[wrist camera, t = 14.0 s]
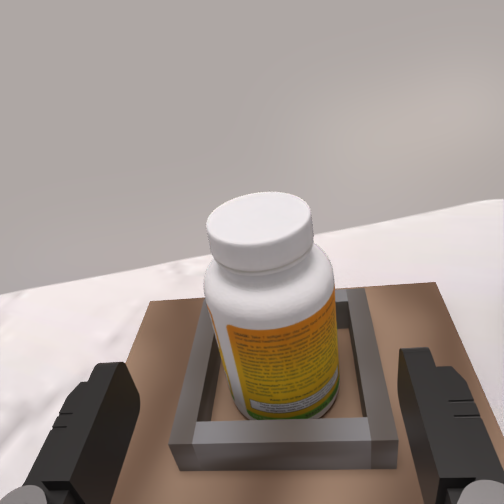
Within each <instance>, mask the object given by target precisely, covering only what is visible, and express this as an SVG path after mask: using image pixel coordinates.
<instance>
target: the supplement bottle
mask: <svg viewBox="0 0 504 504" xmlns="http://www.w3.org/2000/svg"><path fill="white" fill-rule="evenodd" d="M206 229H207V235H208V239H209V245H210V251H211V253H212V255H213V257H214V259H213V260H212V262H211V263H210V265H209V266H208V268H207V270H206V273H205V277H204V294H205V299H206V303H207V307H208V311H209V315H210V318H211V322H212V325H213V329H214V333H215V336H216V340H217V344H218V348H219V352H220V356H221V359H222V363H223V367H224V371H225V375H226V379H227V382H228V385H229V389H230V392H231V395H232V398H233V400H234V403H235V404H236V406H237V408H238V409H239V410H240V412H241V413H242V414H243V415H244V416H245V417H247V418H248V419H249V420H282V419H318V418H320V417H321V416H322V415H323V414H325V413H326V412H327V411H328V410H329V408H330V407H331V406H332V404H333V402H334V401H335V399H336V396H337V394H338V390H339V384H340V377H339V358H338V340H337V322H336V304H335V284H334V275H333V268H332V265H331V262H330V260H329V258H328V256H327V255H326V253H325V252H324V251H323V250H322V249H321V248H320V247H319V246H318V245H317V244H315V243H314V241H313V237H314V233H313V224H312V217H311V210H310V207H309V206H308V204H307V203H306V202H305V201H304V200H302V199H301V198H299V197H297V196H295V195H291V194H287V193H281V192H259V193H252V194H247V195H244V196H240V197H237V198H234V199H232V200H229V201H227V202H225V203H223V204H222V205H220V206H219V207H217V208H216V209H215V210H214V211H213V212H212V213H211V214H210V216H209V217H208V219H207V224H206Z"/></svg>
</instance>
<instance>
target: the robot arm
mask: <svg viewBox="0 0 504 504" xmlns="http://www.w3.org/2000/svg"><path fill="white" fill-rule="evenodd" d="M397 390H398V399H399V404H400V409H401V413H402V417H403V421H404V425H405V429H406V433H407V437H408V441H409V445H410V449H411V453H412V457H413V461H414V465H415V469H416V473H417V477H418V481H419V485H420V489H421V493H422V497H423V501H424V504H504V470H503V468H502V465H501V463H500V461H499V458H498V456H497V453H496V451H495V449H494V446H493V444H492V441H491V439H490V437H489V434H488V432H487V429H486V427H485V425H484V422H483V420H482V418H481V417H480V413H479V410H478V408H477V406H476V403H474V398H473V396H472V394H471V391H470V389H469V386H468V384H467V382H466V380H465V379H464V378H463V377H462V376H461V375H460V374H459V373H458V372H457V371H456V370H455V369H454V368H453V367H452V366H438V367H436V365H435V362H434V359H433V356H432V354H431V351H430V349H429V348H428V347H415V348H400V349H399V360H398V378H397ZM139 412H140V395H139V392H138V390H137V388H136V386H135V383H134V381H133V379H132V377H131V374H130V372H129V370H128V368H127V366H126V364H125V363H124V362H111V363H98V364H97V365H96V366H95V367H94V369H93V371H92V373H91V375H90V378H89V380H88V382H80V383H79V385H78V386H77V387H76V388H75V389H74V390H73V391H72V392H71V393H70V394H69V395H68V396H67V398H66V400H65V402H64V404H63V406H62V408H61V410H60V412H59V416H57V418H56V420H55V422H54V424H53V426H52V427H53V429H52V430H50V432H49V434H48V436H47V438H46V440H45V442H44V444H43V446H42V448H41V450H40V452H39V454H38V456H37V459H36V461H35V463H34V465H33V467H32V469H31V471H30V473H29V475H28V477H27V479H26V480H25V482H24V484H23V485H22V487H19V488H17V489H15V490H13V491H11V492H10V493H8V494H7V495H6V496H5V497H3V498H2V499H1V500H0V504H110V503H111V500H112V497H113V494H114V491H115V488H116V485H117V481H118V478H119V475H120V472H121V469H122V466H123V463H124V460H125V457H126V454H127V450H128V447H129V444H130V441H131V438H132V435H133V432H134V429H135V426H136V422H137V419H138V416H139Z"/></svg>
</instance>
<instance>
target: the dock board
mask: <svg viewBox="0 0 504 504" xmlns="http://www.w3.org/2000/svg"><path fill="white" fill-rule="evenodd" d="M335 304H336V322H337V340H338V358H339V377H340V384H339V390H338V394H337V396H336V399H335V401H334V402H333V404H332V406H331V407H330V408H329V410H328V411H327V412H326V413H325V414H323V415H322V416H321V417H320V418H318V419H282V420H249V419H248V418H247V417H245V416H244V415H243V414H242V413H241V412H240V410H239V409H238V408H237V406H236V404H235V403H234V400H233V398H232V395H231V392H230V389H229V385H228V382H227V379H226V375H225V371H224V367H223V363H222V359H221V356H220V352H219V348H218V344H217V340H216V336H215V333H214V329H213V325H212V322H211V318H210V315H209V311H208V307H207V303H206V299H205V298H192V299H177V300H163V301H150V303H149V306H148V308H147V311H146V313H145V316H144V318H143V321H142V323H141V326H140V328H139V331H138V333H137V336H136V338H135V341H134V343H133V346H132V348H131V351H130V353H129V356H128V358H127V361H126V363H125V364H126V366H127V368H128V370H129V372H130V374H131V377H132V379H133V381H134V383H135V386H136V388H137V390H138V392H139V395H140V412H139V416H138V419H137V422H136V426H135V429H134V432H133V435H132V438H131V441H130V444H129V447H128V450H127V454H126V457H125V460H124V463H123V466H122V469H121V472H120V475H119V478H118V481H117V485H116V488H115V491H114V494H113V497H112V500H111V503H110V504H424V501H423V497H422V493H421V489H420V485H419V481H418V477H417V473H416V469H415V465H414V461H413V457H412V453H411V449H410V445H409V441H408V437H407V433H406V429H405V425H404V421H403V417H402V413H401V409H400V404H399V399H398V390H397V378H398V360H399V349H400V348H415V347H428V348H429V349H430V351H431V354H432V356H433V359H434V362H435V365H436V367H438V366H452V367H453V368H454V369H455V370H456V371H457V372H458V373H459V374H460V375H461V376H462V377H463V378H464V379H465V380H466V382H467V384H468V386H469V389H470V391H471V394H472V396H473V398H474V403H476V406H477V408H478V410H479V413H480V417H481V418H482V420H483V422H484V425H485V427H486V429H487V432H488V434H489V437H490V439H491V441H492V444H493V446H494V449H495V451H496V453H497V456H498V458H499V461H500V463H501V465H502V468H503V470H504V437H503V434H502V432H501V430H500V427H499V425H498V423H497V421H496V418H495V416H494V414H493V412H492V409H491V407H490V405H489V403H488V400H487V398H486V396H485V393H484V391H483V389H482V387H481V384H480V382H479V380H478V378H477V375H476V373H475V371H474V369H473V366H472V364H471V362H470V359H469V357H468V355H467V353H466V350H465V348H464V346H463V344H462V341H461V339H460V337H459V335H458V332H457V330H456V328H455V325H454V323H453V321H452V319H451V316H450V314H449V312H448V310H447V307H446V305H445V303H444V301H443V298H442V296H441V294H440V292H439V289H438V287H437V285H436V282H429V283H414V284H400V285H385V286H370V287H355V288H340V289H335Z"/></svg>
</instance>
